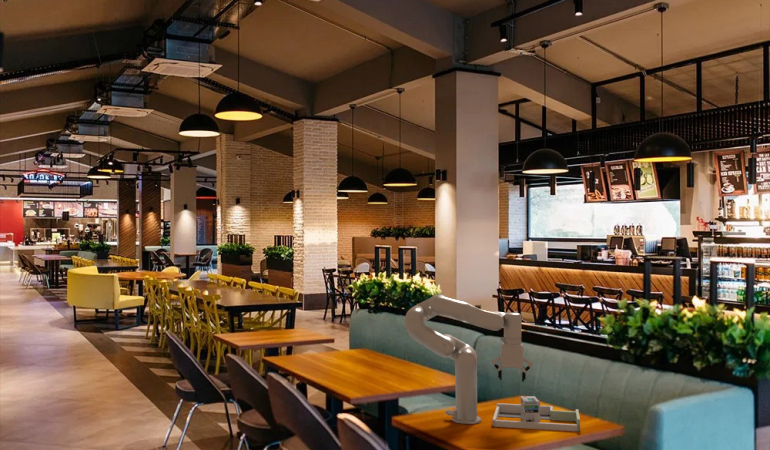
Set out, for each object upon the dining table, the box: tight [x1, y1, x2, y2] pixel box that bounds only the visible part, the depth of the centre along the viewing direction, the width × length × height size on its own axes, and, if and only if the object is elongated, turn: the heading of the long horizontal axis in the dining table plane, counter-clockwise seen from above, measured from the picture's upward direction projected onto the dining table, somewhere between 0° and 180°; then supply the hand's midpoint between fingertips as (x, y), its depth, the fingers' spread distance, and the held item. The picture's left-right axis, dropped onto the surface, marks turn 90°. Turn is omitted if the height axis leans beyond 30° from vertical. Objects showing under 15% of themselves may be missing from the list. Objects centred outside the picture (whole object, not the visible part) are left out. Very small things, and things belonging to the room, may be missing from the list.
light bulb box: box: [520, 395, 541, 422], centre depth 297 cm, size 11×7×11 cm, turn 179°
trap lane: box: [492, 402, 581, 432], centre depth 300 cm, size 36×25×5 cm
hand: (511, 380), depth 299 cm, fingers open, 9 cm apart
